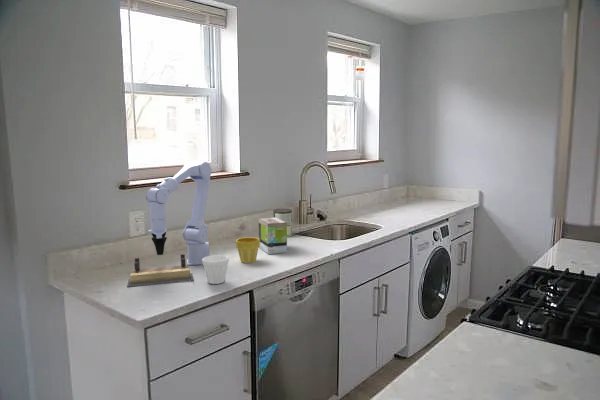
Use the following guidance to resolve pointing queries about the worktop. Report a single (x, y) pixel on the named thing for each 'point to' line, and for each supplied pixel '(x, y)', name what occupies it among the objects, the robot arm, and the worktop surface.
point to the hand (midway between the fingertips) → (160, 252)
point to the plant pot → (248, 249)
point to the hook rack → (138, 270)
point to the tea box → (273, 235)
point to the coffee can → (285, 218)
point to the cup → (215, 268)
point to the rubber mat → (159, 282)
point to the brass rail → (160, 275)
